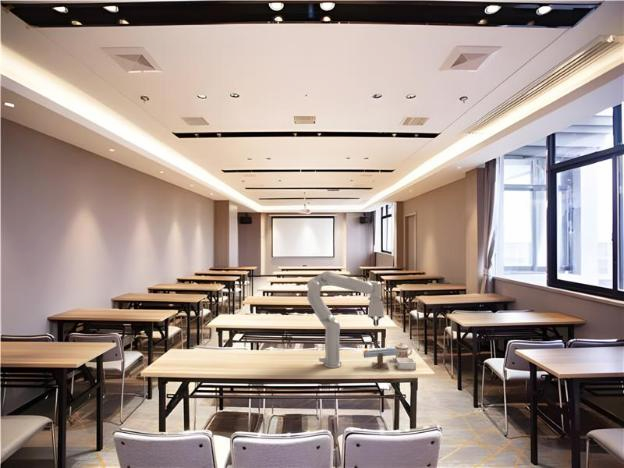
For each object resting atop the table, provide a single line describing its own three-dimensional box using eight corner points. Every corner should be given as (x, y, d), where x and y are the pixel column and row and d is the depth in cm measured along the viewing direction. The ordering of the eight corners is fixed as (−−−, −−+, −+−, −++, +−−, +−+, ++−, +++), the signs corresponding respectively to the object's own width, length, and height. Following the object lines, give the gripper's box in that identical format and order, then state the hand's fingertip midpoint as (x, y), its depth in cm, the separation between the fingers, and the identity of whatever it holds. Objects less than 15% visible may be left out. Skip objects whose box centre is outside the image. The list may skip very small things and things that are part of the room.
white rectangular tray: (398, 369, 238) (398, 362, 238) (396, 364, 247) (396, 357, 247) (415, 369, 237) (415, 362, 237) (413, 364, 246) (413, 358, 246)
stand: (373, 369, 239) (373, 354, 239) (372, 363, 250) (371, 349, 250) (388, 369, 238) (388, 354, 238) (386, 363, 249) (386, 349, 249)
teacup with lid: (397, 361, 253) (397, 344, 253) (393, 357, 262) (393, 341, 262) (414, 360, 254) (414, 344, 254) (409, 356, 263) (409, 340, 263)
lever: (363, 357, 242) (363, 353, 242) (363, 351, 255) (362, 347, 255) (397, 355, 240) (396, 350, 240) (394, 349, 253) (394, 345, 253)
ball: (365, 355, 243) (363, 351, 243) (365, 354, 247) (363, 349, 247) (370, 354, 243) (368, 349, 243) (369, 352, 246) (368, 348, 246)
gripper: (365, 300, 249) (365, 327, 249) (387, 300, 248) (387, 327, 248) (364, 298, 257) (364, 324, 257) (386, 298, 255) (386, 324, 255)
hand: (375, 325), depth 252 cm, fingers closed
